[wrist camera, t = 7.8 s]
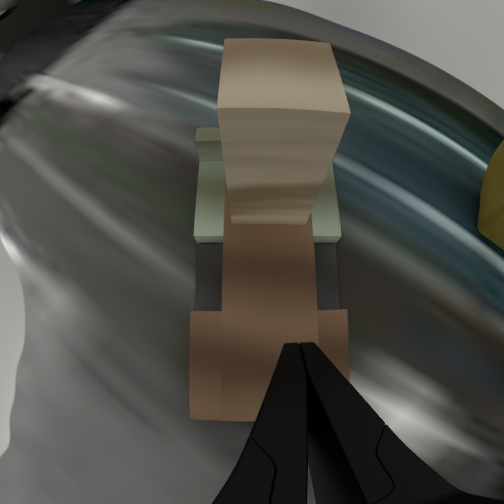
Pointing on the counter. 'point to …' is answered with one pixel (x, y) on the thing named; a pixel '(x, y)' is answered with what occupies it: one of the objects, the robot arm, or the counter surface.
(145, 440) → the counter surface
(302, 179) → the beech block
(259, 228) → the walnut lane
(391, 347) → the counter surface
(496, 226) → the flower pot
